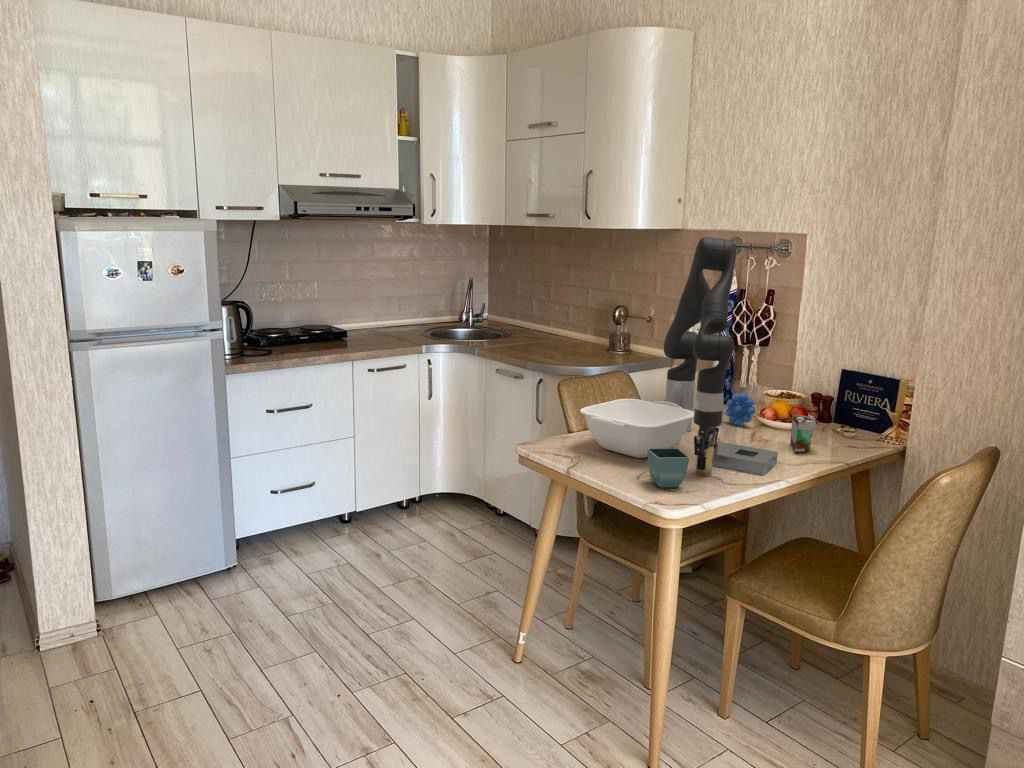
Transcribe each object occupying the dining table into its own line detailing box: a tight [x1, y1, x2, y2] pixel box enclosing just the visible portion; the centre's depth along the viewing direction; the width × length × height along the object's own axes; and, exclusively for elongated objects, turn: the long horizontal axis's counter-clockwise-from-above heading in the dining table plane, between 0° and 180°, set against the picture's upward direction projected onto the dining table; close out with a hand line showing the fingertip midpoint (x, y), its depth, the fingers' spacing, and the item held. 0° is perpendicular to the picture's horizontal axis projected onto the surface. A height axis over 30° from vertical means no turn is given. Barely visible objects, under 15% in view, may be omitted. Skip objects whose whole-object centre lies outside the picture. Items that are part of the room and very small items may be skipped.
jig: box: [712, 440, 779, 476], centre depth 226 cm, size 18×14×6 cm
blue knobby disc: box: [724, 392, 756, 427], centre depth 269 cm, size 12×7×12 cm, turn 39°
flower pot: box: [647, 447, 690, 489], centre depth 206 cm, size 9×9×9 cm
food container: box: [789, 413, 817, 455], centre depth 241 cm, size 12×6×10 cm, turn 168°
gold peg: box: [695, 444, 714, 478], centre depth 216 cm, size 4×4×8 cm
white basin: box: [579, 398, 694, 459], centre depth 237 cm, size 34×28×13 cm
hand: (704, 466), depth 216 cm, fingers closed on gold peg, 4 cm apart
